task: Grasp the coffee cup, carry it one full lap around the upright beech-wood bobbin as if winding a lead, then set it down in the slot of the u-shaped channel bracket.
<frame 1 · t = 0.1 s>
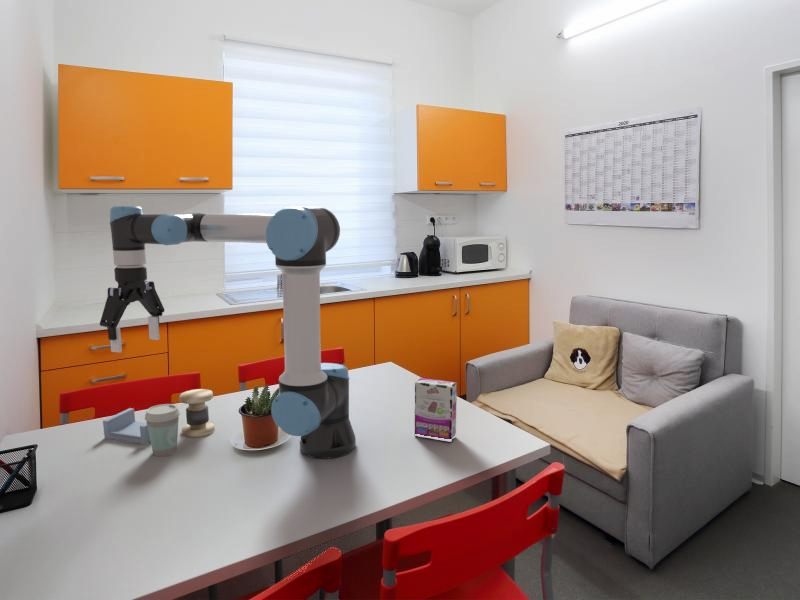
hand: (136, 345, 145), 28 cm above the table, fingers open, 13 cm apart
bobbin: (198, 431, 158), on the table
candy bar box: (435, 437, 156), on the table
u-shaped channel bracket: (138, 434, 156), on the table
coffee cup: (165, 452, 145), on the table
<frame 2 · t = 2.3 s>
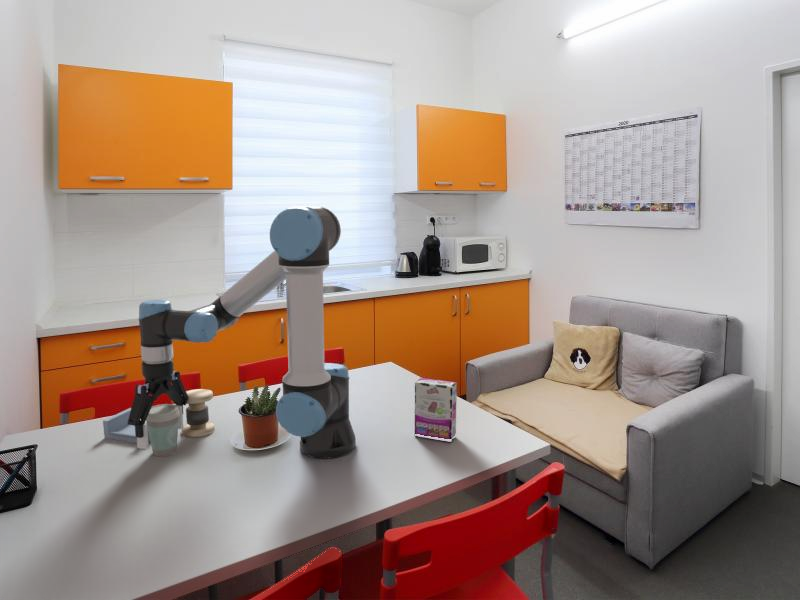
hand: (161, 437, 144), 4 cm above the table, fingers open, 13 cm apart
nothing on the table moved.
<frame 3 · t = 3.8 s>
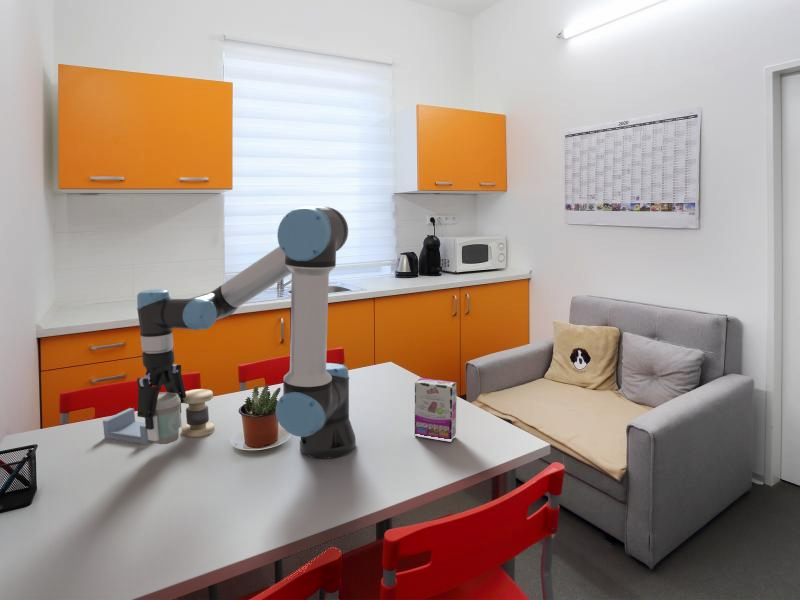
hand: (165, 433, 144), 5 cm above the table, fingers closed on coffee cup, 8 cm apart
coffee cup: (166, 440, 144), point 3 cm above the table, touching gripper
everything else where it was.
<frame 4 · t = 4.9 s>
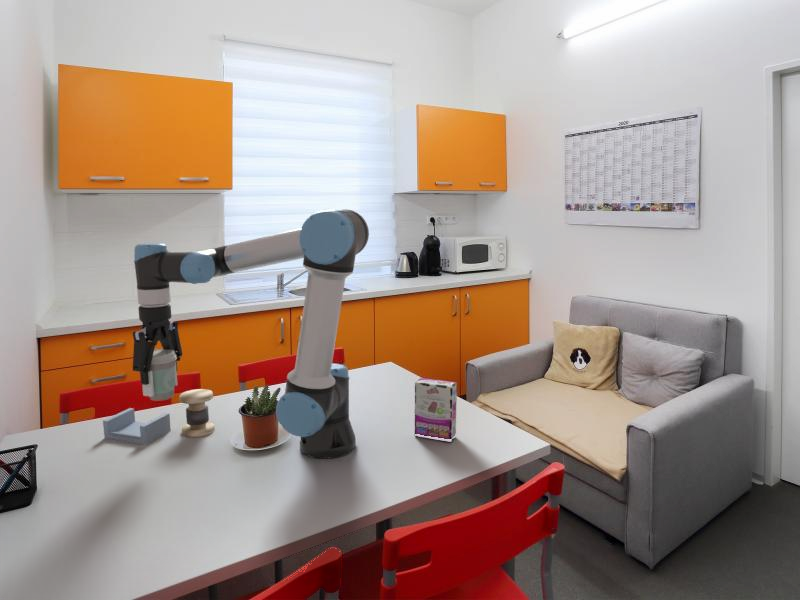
hand: (160, 390, 142), 17 cm above the table, fingers closed on coffee cup, 8 cm apart
coffee cup: (162, 397, 143), point 15 cm above the table, touching gripper
everything else where it was.
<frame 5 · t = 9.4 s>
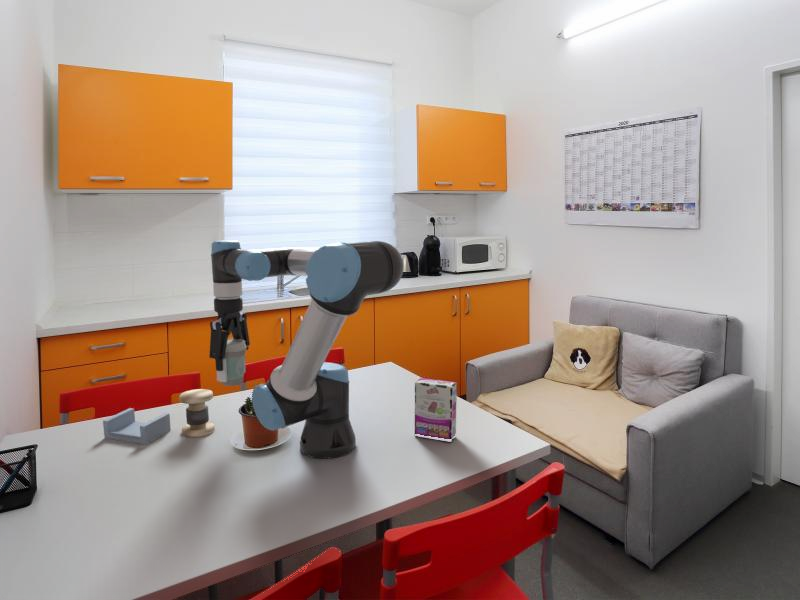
hand: (231, 376, 153), 17 cm above the table, fingers closed on coffee cup, 8 cm apart
coffee cup: (232, 383, 154), point 15 cm above the table, touching gripper
everything else where it was.
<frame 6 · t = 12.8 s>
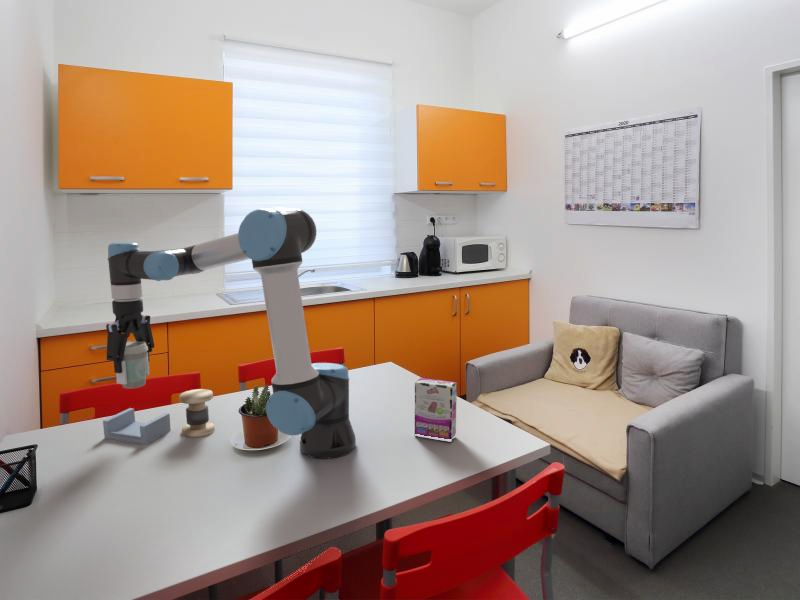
hand: (133, 378, 153), 17 cm above the table, fingers closed on coffee cup, 8 cm apart
coffee cup: (134, 385, 153), point 14 cm above the table, touching gripper
everything else where it was.
when the fingers open (4 cm above the table, at t = 15.4 s): coffee cup stays where it is, resting on u-shaped channel bracket.
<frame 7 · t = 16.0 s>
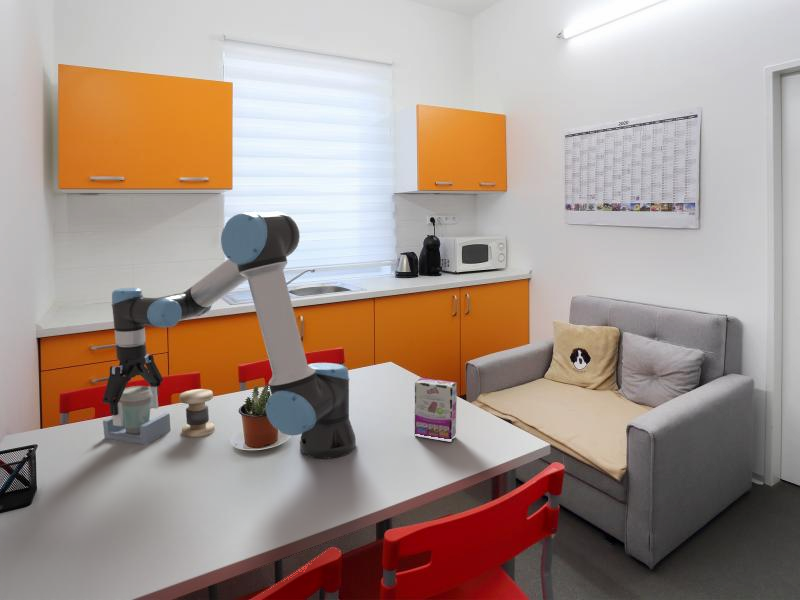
hand: (136, 416, 155), 5 cm above the table, fingers open, 13 cm apart
coffee cup: (137, 431, 155), point 1 cm above the table, touching u-shaped channel bracket
everything else where it was.
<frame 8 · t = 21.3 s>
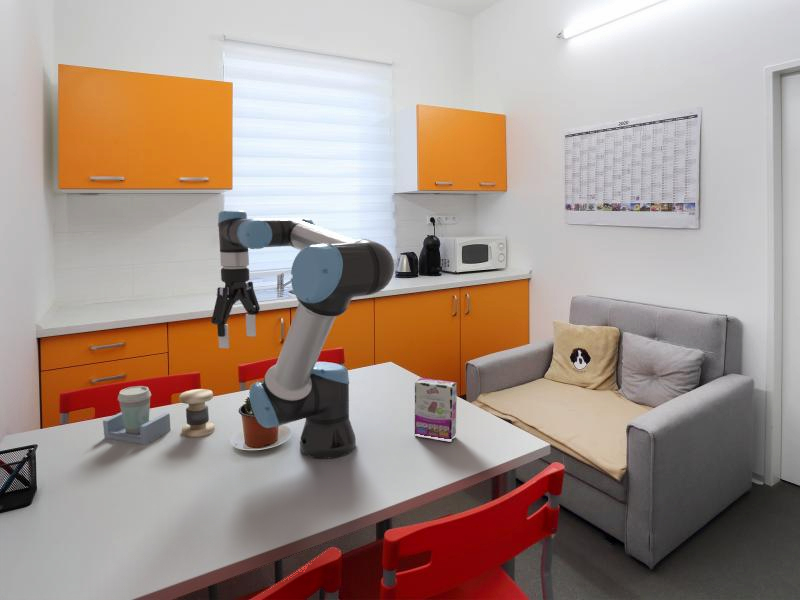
hand: (238, 341, 154), 27 cm above the table, fingers open, 13 cm apart
nothing on the table moved.
at the end: coffee cup inside the target area on the u-shaped channel bracket (0.3 cm from its centre), point 1.0 cm above the u-shaped channel bracket's base; coffee cup tilted 0°; the gripper is holding nothing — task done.
